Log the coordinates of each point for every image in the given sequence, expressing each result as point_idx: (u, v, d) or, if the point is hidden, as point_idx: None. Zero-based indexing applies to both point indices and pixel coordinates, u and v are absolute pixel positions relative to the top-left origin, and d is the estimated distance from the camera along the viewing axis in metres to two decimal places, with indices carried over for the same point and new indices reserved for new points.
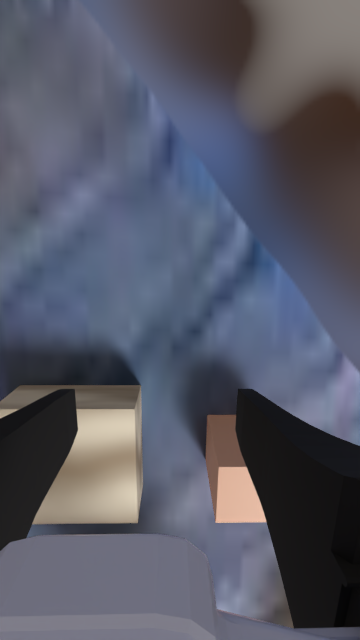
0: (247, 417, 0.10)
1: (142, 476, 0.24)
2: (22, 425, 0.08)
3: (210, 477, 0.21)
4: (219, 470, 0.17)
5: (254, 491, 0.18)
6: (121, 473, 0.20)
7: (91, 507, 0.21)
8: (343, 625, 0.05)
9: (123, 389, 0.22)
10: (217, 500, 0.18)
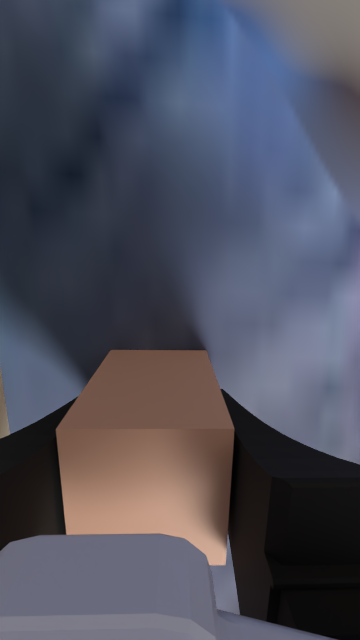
0: None
1: None
2: None
3: None
4: (59, 438, 0.07)
5: (155, 492, 0.07)
6: None
7: None
8: None
9: None
10: (67, 514, 0.07)
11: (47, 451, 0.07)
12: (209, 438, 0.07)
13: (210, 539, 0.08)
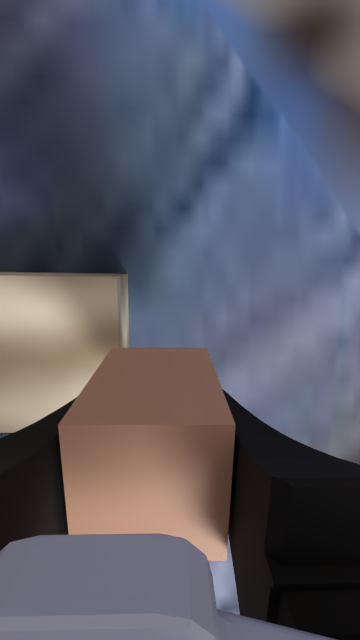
0: None
1: None
2: None
3: None
4: (61, 434, 0.07)
5: (157, 488, 0.07)
6: None
7: None
8: None
9: (106, 274, 0.18)
10: (68, 510, 0.07)
11: (47, 451, 0.07)
12: (210, 434, 0.07)
13: (211, 535, 0.08)
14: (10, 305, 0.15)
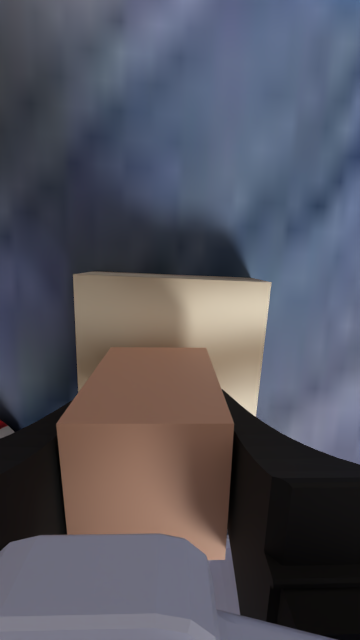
0: None
1: None
2: None
3: None
4: (59, 433, 0.07)
5: (155, 487, 0.07)
6: (240, 379, 0.15)
7: None
8: None
9: (233, 277, 0.16)
10: (67, 509, 0.07)
11: (47, 451, 0.07)
12: (208, 433, 0.07)
13: (210, 534, 0.08)
14: (150, 310, 0.14)
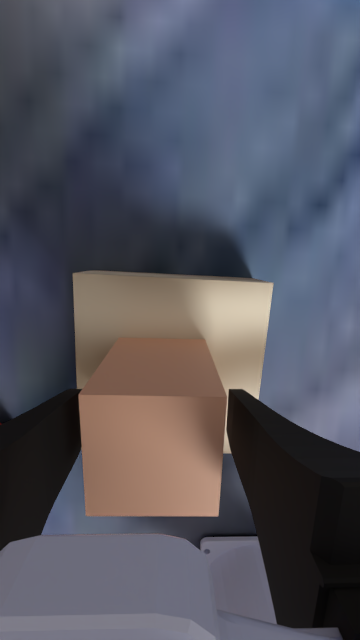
0: (237, 417, 0.10)
1: None
2: (36, 425, 0.08)
3: None
4: (81, 402, 0.08)
5: (160, 451, 0.08)
6: (241, 380, 0.15)
7: None
8: (322, 626, 0.05)
9: None
10: (85, 469, 0.09)
11: (11, 451, 0.07)
12: (206, 404, 0.08)
13: (205, 493, 0.09)
14: (150, 310, 0.14)
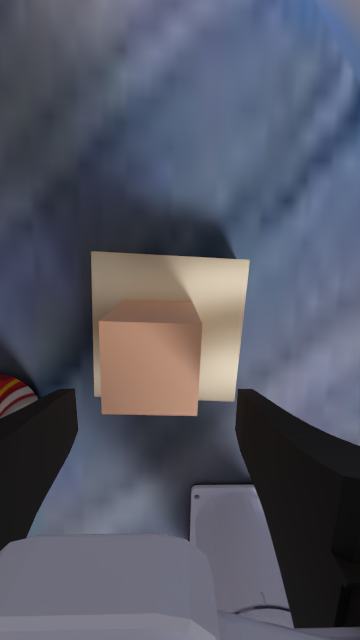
0: (247, 417, 0.10)
1: None
2: (22, 425, 0.08)
3: None
4: (100, 327, 0.12)
5: (155, 364, 0.12)
6: (225, 339, 0.18)
7: None
8: (343, 625, 0.05)
9: None
10: (101, 378, 0.12)
11: None
12: (187, 329, 0.12)
13: (188, 397, 0.12)
14: (152, 281, 0.17)
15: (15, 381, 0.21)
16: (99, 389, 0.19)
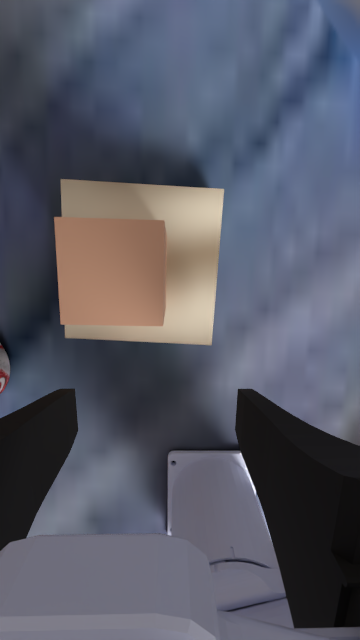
0: (247, 417, 0.10)
1: None
2: (22, 425, 0.08)
3: None
4: (56, 224, 0.11)
5: (116, 266, 0.11)
6: (200, 276, 0.17)
7: None
8: (343, 625, 0.05)
9: None
10: (59, 283, 0.11)
11: None
12: (148, 226, 0.11)
13: (152, 305, 0.12)
14: (123, 212, 0.17)
15: None
16: (70, 329, 0.18)
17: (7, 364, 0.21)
